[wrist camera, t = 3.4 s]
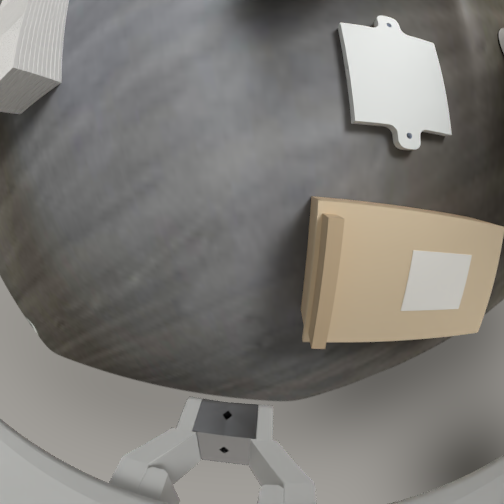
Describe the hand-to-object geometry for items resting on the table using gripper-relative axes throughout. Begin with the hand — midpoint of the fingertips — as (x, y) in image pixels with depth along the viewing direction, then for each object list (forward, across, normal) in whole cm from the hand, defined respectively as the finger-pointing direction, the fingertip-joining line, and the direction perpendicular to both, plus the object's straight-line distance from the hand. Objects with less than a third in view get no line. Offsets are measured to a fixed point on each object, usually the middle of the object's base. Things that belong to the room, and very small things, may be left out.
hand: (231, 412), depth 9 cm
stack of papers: (+23, +39, -38) cm, 59 cm away
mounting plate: (+23, -15, -22) cm, 35 cm away
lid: (+16, -16, 0) cm, 23 cm away
